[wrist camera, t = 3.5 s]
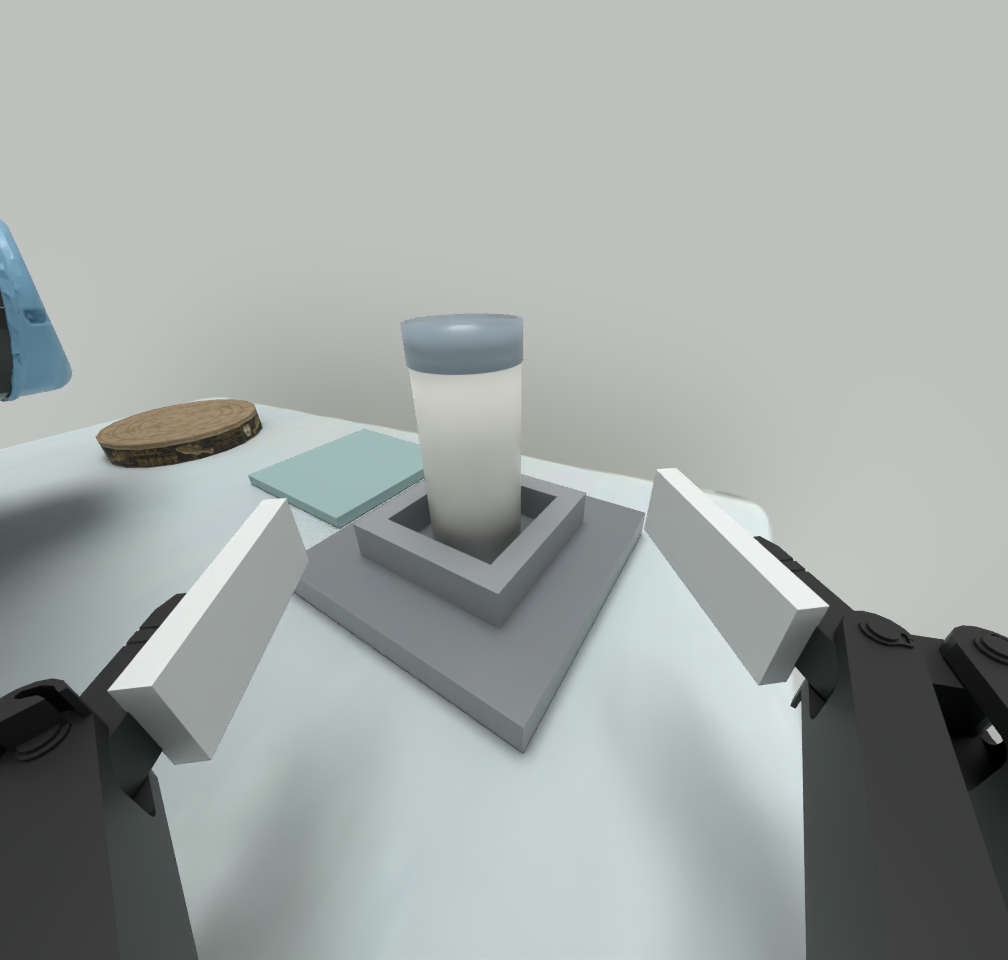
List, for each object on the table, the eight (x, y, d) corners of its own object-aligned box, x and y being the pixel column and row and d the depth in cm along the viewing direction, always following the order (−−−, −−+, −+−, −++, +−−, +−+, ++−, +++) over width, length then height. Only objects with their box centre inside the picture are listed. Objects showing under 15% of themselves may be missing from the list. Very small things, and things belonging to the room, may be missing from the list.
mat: (251, 483, 38) (248, 475, 37) (365, 436, 48) (364, 428, 47) (339, 528, 31) (336, 518, 30) (450, 461, 41) (449, 453, 40)
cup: (413, 546, 25) (373, 324, 19) (469, 503, 30) (454, 311, 23) (488, 582, 22) (474, 332, 16) (538, 528, 27) (544, 316, 20)
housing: (289, 589, 25) (267, 535, 23) (460, 476, 38) (456, 435, 36) (523, 753, 16) (523, 691, 14) (641, 534, 29) (650, 484, 27)
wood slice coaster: (224, 413, 58) (216, 393, 56) (288, 430, 51) (281, 409, 49) (87, 452, 46) (72, 429, 44) (146, 483, 39) (131, 457, 38)
